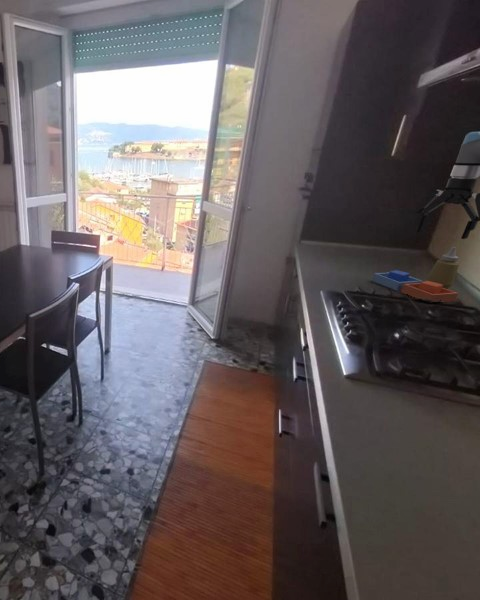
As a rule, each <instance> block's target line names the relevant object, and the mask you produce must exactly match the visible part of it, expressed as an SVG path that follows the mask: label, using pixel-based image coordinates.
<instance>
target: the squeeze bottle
mask: <svg viewBox="0 0 480 600" xmlns="http://www.w3.org/2000/svg"><path fill="white" fill-rule="evenodd" d="M456 254H457V247H456V246H452V247H451V248H450V249H449V250H448V252H447V254H442V256H441V258H440V259H437V260H436V261H435V263H434V265H433V267H432V268H431V270H430V272H429V273H428V275H427V277H426V281H431V282H435V283H439V284H442V285H443V287H442V288H445V289H448V290H449V289H450V287H452V286H453V285H454V282H455V279H456V275H457V273H458V269H459V266H460V263H459V262H458V260H459V256H457V255H456Z"/></svg>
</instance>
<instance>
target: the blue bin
mask: <svg viewBox="0 0 480 600" xmlns="http://www.w3.org/2000/svg"><path fill="white" fill-rule="evenodd" d="M388 275H389V272H374V273H373V277H372V280H371V282H374V283H376V284H378V285H381V286H383V287H386V288H388V289H391V290H394V291H396V292H397V291H398V292H399V291H401V290H402V287H403V285H404V284H413V283H421V282H424V280H421V279H419V278H416V277H413V276H410V275H409V277H408V280H407V282H398V281H395V280H393V279H390V278H387V277H388Z"/></svg>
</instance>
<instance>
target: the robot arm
mask: <svg viewBox="0 0 480 600" xmlns="http://www.w3.org/2000/svg"><path fill="white" fill-rule="evenodd" d="M449 176H450V178H448V180H447V183H446V185H445V189H444V190H441V189H434V190H433V191H432V193H431V195H430V196H429V197H428V198H426V200H425V201H424V202H423V203H422V204H421V205H420V206H418V208H416V210H415V213H416V214H419V217H418V221H417V224H418V225H419V226H418V228H417V231H416V232H418V233H421V232H422V233H423V232H424V229H425V227H426V224H427V221H428V219H429V216H430V215H429V214H430V213H431V212H432V211H434V210H436V209H437V208H439V207H440V206H442V205H444V204H449V205H450V204H453V205H461V207H463V209H464V210H465V212H466V213H467V215H468V217H469V219H470V220H468V221H467V224H466V226H465V228H464V230H463V233H462V235H461V237H460V239H462V240H466V239H468V238H469V235H470V233H471V231H474V230H475V229H476V227H477V225H478V223H479V222H480V192H478V193H476V192H475V193H474V189H475V188H476V185H477V183H478V178H479V177H480V131H471V132H468V133H467V134H466V135H465V137H464V139H463V142H462V144H461V145H460V149H459V151H458V154H457V158H456V160H455V163H454V165H453V167H452V169H451V173H450V175H449ZM440 196H442V198H441V199H440V200H438V201H437V202H435V203H434V204H432V203H433V202H434V201H435V200H436V199H437V198H438V197H440ZM471 198H473V200H474V203H475V206H476V210H477V212H476V211H475V209H474V208H473V206H472V204H471V202H470V200H469V199H471ZM430 204H432V205H430Z"/></svg>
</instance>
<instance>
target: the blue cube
mask: <svg viewBox="0 0 480 600" xmlns="http://www.w3.org/2000/svg"><path fill="white" fill-rule="evenodd" d="M388 273H389V275H388V277H387V278H390V279H393V280H395V281H398V282H407V280H408V277H409V276H410V274H411V273H409V272H405V271H402V270H399V269H394V270H390V271H389V272H388Z"/></svg>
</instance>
